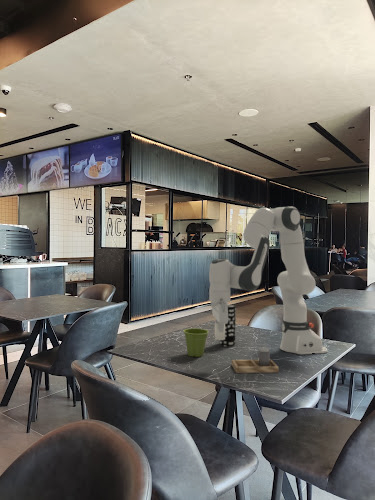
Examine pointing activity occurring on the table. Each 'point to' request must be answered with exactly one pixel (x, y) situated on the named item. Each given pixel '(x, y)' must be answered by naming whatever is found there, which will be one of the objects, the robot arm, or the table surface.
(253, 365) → the caddy
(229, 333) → the spotted tube
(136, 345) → the table surface
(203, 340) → the plant pot
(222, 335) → the salt shaker
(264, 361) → the pepper shaker
